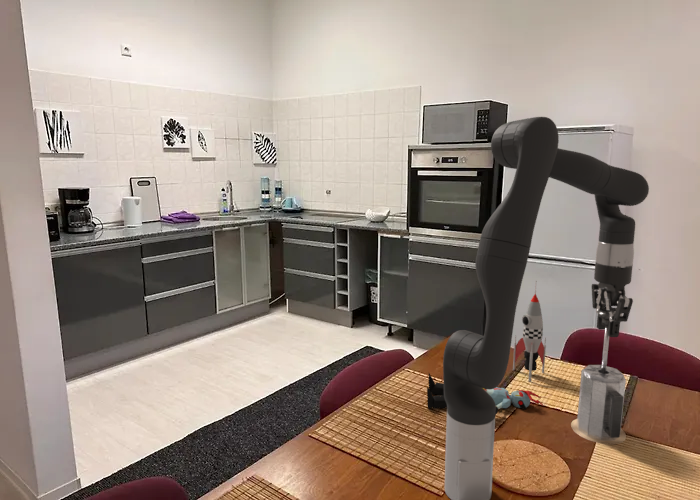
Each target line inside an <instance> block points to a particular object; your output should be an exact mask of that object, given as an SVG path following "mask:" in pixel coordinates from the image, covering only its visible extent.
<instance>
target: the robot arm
mask: <svg viewBox="0 0 700 500" xmlns="http://www.w3.org/2000/svg"><path fill="white" fill-rule="evenodd" d="M559 139H560V137H559V130H558V127H557V125H556V123H555V122H554V121H553V120H552V119H551V118H549V117H546V116H535V117H530V118H529V117H528V118H523V119H518V120H517V119H516V120H513V121H508V122H506V123H503V124H502V125H500V126H499V127H497V129H495V131H494V133H493V135H492V138H491V142H490V149H491V154H492V156H493V157H494V160H495V161H496V162H497V163H498V164H499V165H500V166H502V167H505V168H508V169H512V170H513V169H515V174H514V177H513V180H512V184H511V186H510V188H509V190H508V192H507V193H506V196H505V197H504V198H503V200H502V201H501V203H500V204H499V205H498V206H497V208H495V210H494V212H493V213H492V214H491V216H490V217H489V219H488V220H487V221H486V223H485V225H484V227H483V229H482V231H481V234H480V239H479V243H478V246H477V247H478V248H477V252H476V257H475V271H476V275H477V280H478V282H479V286H480V289H481V291H482V295H483V299H484V303H485V310H486V319H485V327H484V334H483V335H482V334H479V333H477V332H473V331H470V330H465V329H460V330H456V331H455V332H453V333H452V334H451V335H450V337H449V338H448V339H447V341H446V344H445V348H444V351H443V357H442V360H443V361H442V372H443V374H442V375H443V378H442V379H443V384H444V398H445V401H446V403H447V408H446V428H445V456H444V457H445V458H444V492H445V495H446V496H447V498H449V499H450V500H491V498H492V491H493V490H492V489H493V470H494V469H493V468H494V467H493V466H494V448H495V429H496V427H495V426H496V415H497V414H496V405H495V401H494V400H493V398H492V397H491V396H490V395H489V394H488V393H487V392H486V391H485V390H484V389H488V390H491V389H494V388H496V387H498V386H500V384H501V382H502V381H503V379H504V378H505V374H506V372H507V368H508V364H509V361H510V353H511V345H512V341H513V340H512V338H513V332H514V326H515V325H514V323H515V318H516V317H515V316H516V312H517V306H518V302H519V298H520V297H519V296H520V293H521V292H520V291H521V286H522V283H523V279H524V275H525V270H526V267H527V263H528V260H529V259H528V258H529V256H530V250H531V246H532V239H533V235H534V230H535V225H536V223H537V219H538V218H537V217H538V214H539V211H540V208H541V203H542V199H543V197H544V194H545V193H544V192H545V190H546V186H547V183H548V181H549V178H551V179H553V180H556V181H559V182H561V183H564V184H566V185H568V186H571V187H573V188H576V189H578V190H580V191H583V192H585V193H587V194H590V195H593V196H594V200H595V205H596V211H597V216H598V221H599V234H598V242H597V247H596V253H595V263H594V275H593V278H594V281H596V282H598V283H592V284H591V299H592V301H591V303H592V309H595V312H596V314H598V311H599V310H604V309H605V310H607V311H608V312H609V320H610V321H609V325H608V336H609V338H618V337H619V336H620V325H621V322H624V323H625V322H628V319H629V316H630V312H631V310H632V306H633V303H634V299H633V298H632V297H628V296H626V291H625V290H626V289H625V287H626V286H627V285H630V284H631V282H632V278H633V277H632V276H633V275H632V274H633V267H634V266H633V265H634V254H635V249H634V246H635V245H634V243H635V234H636V232H635V231H636V221H635V219H634V218H633V217H631V216H629V215H626V214H623V213H622V212H621V209H620V206H626V207H631V206H632V207H633V206H638V205H640V204H642V202H644V201H645V200H646V199H647V198H648V195H649V193H650V191H649V189H650V186H649V183H648V181H647V179H646V177H644V176H643V175H642V174H640V173H639V172H636V171H633V170H628V169H625V168H621V167H617V166H613V165H610V164H608V163H606V162H605V161H602V160H601V159H599V158H597V157H594V156H592V155H589V154H586V153H582V152H578V151H572V150H568V149H563V148H559ZM614 311H616V312H615V315H614ZM596 317H597V318H596V319H597V320H596V328H597V329H598V330H600V331H601V330H604V331H605V326H604V325H602V318H601V317H599V316H598V315H597V316H596ZM483 388H484V389H483Z"/></svg>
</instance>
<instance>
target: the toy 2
mask: <svg viewBox="0 0 700 500" xmlns="http://www.w3.org/2000/svg"><path fill="white" fill-rule="evenodd" d="M535 283H537V280H535ZM534 287H535V289H534V290H535V291H534V295H533V296H532V298H531V300H530V301H529V304H528V306H527V310H526V314H524V315H523V316H522V319H521V321H522V324H523V328H522V337H521V338H520V339H519V340H518V341H517V335H515V336H514V344H513V345H514V346H513V363H512V371H515V370H516V362H517V360H518V359H519V357H520V356H521V354H522V353H523V352H524V353H523V355H524V358H525V361H524V363H523V364H524V365H523V368H524V369H525V370H527V371H528V382H532V373H533V372H534V371H536V370H537V360H538V359H540V362H541V365H542V366H541V367H542V368H541V373H542V374H545V366H546V365H545V361H546V348H547V345H546V341H547V339H546V338H547V337H544V343H543V335H544V334H543V333H544V332H543V330H544V324H543V323H544V322H543V315H542V309H541V303H540V300H539V299H538V297H537V294H536V293H537V285H535V286H534Z"/></svg>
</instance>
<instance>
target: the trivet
mask: <svg viewBox="0 0 700 500" xmlns="http://www.w3.org/2000/svg"><path fill="white" fill-rule="evenodd" d="M570 426H571V429H572V430H573V432H574V433H575V434H577V435H579V436H580V437H581V438H583V439H585V440H588V441H590V442H594V443H597V444H603V445H617V444H621V443H623V442H624V441H625V440H626V439H627V435H626V433H625V431H624V430H623V429H622V428H621V431H620V437H618V438H617V439H616V440H614V441H602V440H597V439H594V438H591V437H588V436H586V435H585V434H583V433H582V432H580V431H579V430H578V427H577V418H576V419H574V420H572V422H571V423H570Z"/></svg>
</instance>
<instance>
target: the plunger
mask: <svg viewBox="0 0 700 500" xmlns="http://www.w3.org/2000/svg"><path fill="white" fill-rule="evenodd" d="M615 312H616V311H614V315H615ZM597 316H599V317H601V318H602V325H604V326H605V330H604V336H603V337H604V338H603V349H602V358H601V359H602V360H601V365H602V368H601V373H602V374H606V366H607V364H608V353H609V352H608V351H609V343H610V337H609V336H608V325H609V321H610V320H609V312H608V311H607V310H605V309H604V310H599V311H598V313H597ZM594 380H595V379H594Z"/></svg>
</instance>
